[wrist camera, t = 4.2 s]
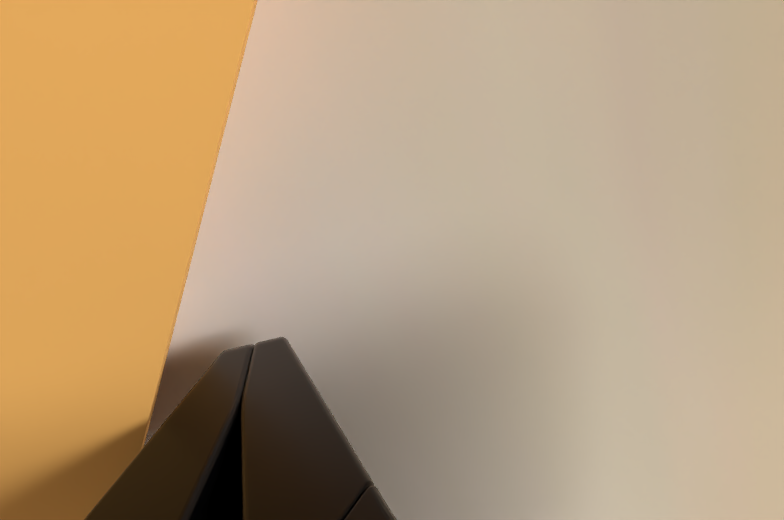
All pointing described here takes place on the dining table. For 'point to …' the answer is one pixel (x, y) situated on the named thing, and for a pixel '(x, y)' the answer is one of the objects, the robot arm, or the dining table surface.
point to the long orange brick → (99, 225)
